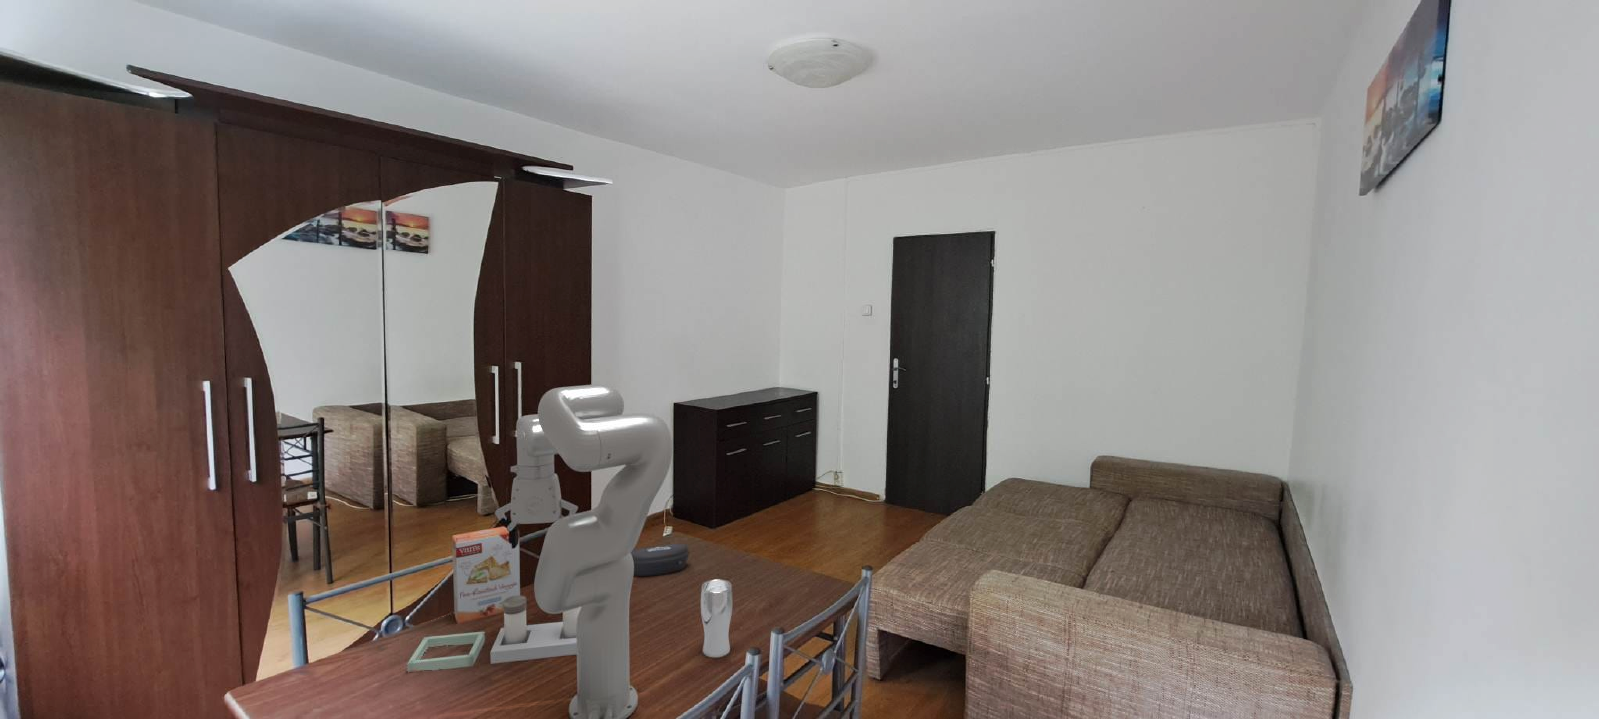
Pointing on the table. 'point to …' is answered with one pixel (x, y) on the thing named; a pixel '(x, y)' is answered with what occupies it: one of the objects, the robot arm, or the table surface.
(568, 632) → the fuse
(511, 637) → the cylinder
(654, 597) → the table surface
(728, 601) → the beer glass
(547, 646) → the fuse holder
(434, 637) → the green square frame
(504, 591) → the cracker box
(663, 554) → the glasses case
